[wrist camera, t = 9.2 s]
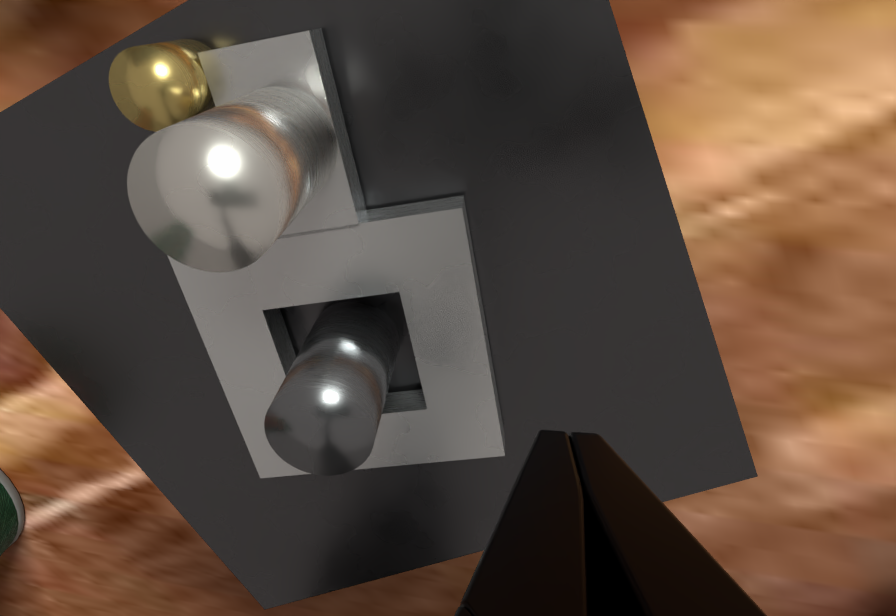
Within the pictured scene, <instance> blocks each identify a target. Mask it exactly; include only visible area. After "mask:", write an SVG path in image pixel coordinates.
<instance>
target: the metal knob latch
mask: <svg viewBox="0 0 896 616" xmlns="http://www.w3.org/2000/svg"><path fill="white" fill-rule="evenodd" d="M198 56H199V59H200V62H201V65H202V68H203V71H204V74H205V77H206V80H207V83H208V86H209V88H210V91H211V94H212V97H213V100H214V103H215V106H216V107H214V108H212V109H209V110H207V111H205V112H202V113H200V114H197V115H195V116H193V117H190V118H188V119H185V120H183V121H180V122H178V123H176V124H173V125H171V126H168V127H166V128H163V129H161V130H159V131H157V132H155V133H153V134H152V135H150V136H149V137H148V138H147V139H146V140H144V141H143V142H142V143H141V145H140V146H139V147H138V149H137V150H136V152H135V153H134V155H133V157H132V160H131V163H130V165H129V170H128V175H127V189H128V197H129V201H130V205H131V208H132V210H133V213H134V215H135V217H136V219H137V221H138V223H139V225H140V227H141V228H142V230H143V231H144V233H145V234H146V235H147V236H148V238H149V239H150V240H151V241H152V242H153V243H154V244H155V245H156V246H157V247H158V248H159V249H160V250H162V251H163V252H164V253H165V254H167V256H168V258H169V261H170V263H171V265H172V268H173V270H174V273H175V275H176V277H177V280H178V282H179V285H180V287H181V289H182V292H183V294H184V297H185V299H186V301H187V304H188V306H189V309H190V311H191V313H192V316H193V318H194V321H195V323H196V325H197V328H198V330H199V333H200V335H201V337H202V340H203V342H204V345H205V347H206V349H207V352H208V354H209V357H210V359H211V361H212V364H213V366H214V369H215V371H216V373H217V376H218V378H219V380H220V383H221V385H222V388H223V390H224V392H225V395H226V397H227V400H228V402H229V404H230V407H231V409H232V412H233V414H234V416H235V419H236V421H237V424H238V426H239V428H240V431H241V433H242V436H243V438H244V440H245V443H246V445H247V448H248V450H249V452H250V455H251V457H252V460H253V462H254V464H255V467H256V469H257V472H258V474H259V476H260V478H270V477H281V476H292V475H303V474H311V473H307V472H304V471H301V470H299V469H297V468H295V467H293V466H291V465H289V464H288V463H286V462H285V461H284V460H282V459H281V458H280V457H279V456H278V455H277V454H276V453H275V451H274V450H273V449H272V447H271V446H270V444H269V442H268V440H267V438H266V434H265V429H264V420H265V416H266V413H267V410H268V408H269V407H270V405H271V403H272V401H273V399H274V397H275V396H276V394H277V392H278V390H279V388H280V386H281V384H282V383H283V381H284V379H285V377H286V375H287V373H288V371H289V370H290V368H291V366H292V364H293V362H294V360H295V358H296V355H295V352H294V349H293V346H292V343H291V340H290V337H289V334H288V331H287V328H286V325H285V322H284V320H283V317H282V314H281V311H280V308H282V307H290V306H297V305H305V304H313V303H320V302H328V301H335V300H343V299H350V298H358V297H365V296H373V295H380V294H388V293H395V292H400V297H401V301H402V305H403V309H404V313H405V318H406V322H407V326H408V330H409V335H410V339H411V343H412V347H413V351H414V356H415V360H416V364H417V368H418V372H419V377H420V381H421V385H422V389H420V390H411V391H402V392H393V393H387V396H386V400H385V404H384V408H383V411H382V415H381V419H380V423H379V427H378V430H377V434H376V438H375V442H374V446H373V449H372V452H371V454H370V456H369V457H368V458H367V460H366V461H365V462H364V463H363V464H362V465H360V466H359V467H358V468H356V469H354V470H357V469H368V468H379V467H390V466H401V465H411V464H422V463H433V462H444V461H455V460H466V459H477V458H487V457H498V456H505V437H504V428H503V422H502V416H501V410H500V405H499V399H498V393H497V387H496V381H495V375H494V369H493V363H492V358H491V352H490V346H489V340H488V334H487V328H486V322H485V316H484V311H483V305H482V299H481V293H480V287H479V281H478V275H477V269H476V264H475V258H474V252H473V246H472V240H471V234H470V228H469V222H468V217H467V211H466V205H465V199H464V195H462V196H455V197H449V198H442V199H436V200H429V201H423V202H416V203H410V204H403V205H397V206H390V207H384V208H377V209H371V210H366V206H365V202H364V198H363V194H362V190H361V186H360V182H359V178H358V174H357V170H356V166H355V162H354V158H353V154H352V150H351V146H350V142H349V138H348V134H347V130H346V126H345V122H344V118H343V114H342V110H341V106H340V102H339V98H338V93H337V89H336V85H335V81H334V77H333V73H332V69H331V65H330V61H329V57H328V53H327V49H326V45H325V41H324V37H323V33H322V29H321V28H319V29H314V30H309V31H304V32H299V33H293V34H288V35H283V36H278V37H273V38H268V39H263V40H258V41H253V42H248V43H243V44H238V45H233V46H228V47H223V48H218V49H213V50H208V51H203V52H199V53H198Z"/></svg>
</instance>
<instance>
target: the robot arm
mask: <svg viewBox="0 0 896 616" xmlns="http://www.w3.org/2000/svg"><path fill="white" fill-rule="evenodd" d="M454 616H767V615H766V614H765V613H764V612H763V611H762V610H761V609H760V608H759V607H758V605H757V604H756V603H755V602H754V601H753V600H752V599H751V598H750V597H749V596H748V595H747V594H746V592H745V591H744V590H743V589H742V588H741V587H740V586H739V585H738V584H737V583H736V582H735V581H734V579H733V578H732V577H731V576H730V575H729V574H728V573H727V572H726V571H725V570H724V569H723V568H722V566H721V565H720V564H719V563H718V562H717V561H716V560H715V559H714V558H713V557H712V556H711V555H710V553H709V552H708V551H707V550H706V549H705V548H704V547H703V546H702V545H701V544H700V543H699V542H698V540H697V539H696V538H695V537H694V536H693V535H692V534H691V533H690V532H689V531H688V530H687V529H686V527H685V526H684V525H683V524H682V523H681V522H680V521H679V520H678V519H677V518H676V517H675V516H674V514H673V513H672V512H671V511H670V510H669V509H668V508H667V507H666V506H665V505H664V504H663V503H662V501H661V500H660V499H659V498H658V497H657V496H656V495H655V494H654V493H653V492H652V491H651V490H650V488H649V487H648V486H647V485H646V484H645V483H644V482H643V481H642V480H641V479H640V478H639V477H638V475H637V474H636V473H635V472H634V471H633V470H632V469H631V468H630V467H629V466H628V465H627V464H626V462H625V461H624V460H623V459H622V458H621V457H620V456H619V455H618V454H617V453H616V452H615V451H614V449H613V448H612V447H611V446H610V445H609V444H608V443H607V442H606V441H605V440H604V439H603V438H602V437H601V436H600V435H599V434H596V433H585V432H571V433H570V434H569V435H568V434H567V433H566V432H565V431H556V430H539V431H538V432H537V434H536V436H535V438H534V440H533V443H532V445H531V447H530V449H529V452H528V454H527V456H526V458H525V460H524V463H523V465H522V467H521V469H520V472H519V474H518V476H517V478H516V480H515V483H514V485H513V487H512V489H511V492H510V494H509V496H508V498H507V501H506V503H505V505H504V507H503V509H502V512H501V514H500V516H499V518H498V521H497V523H496V525H495V527H494V530H493V532H492V534H491V536H490V538H489V541H488V543H487V545H486V547H485V550H484V552H483V554H482V556H481V559H480V561H479V563H478V565H477V567H476V570H475V572H474V574H473V576H472V579H471V581H470V583H469V585H468V588H467V590H466V592H465V594H464V596H463V599H462V601H461V605H460V607H458V609H457V611H456V613H455V615H454Z"/></svg>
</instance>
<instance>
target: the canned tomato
mask: <svg viewBox="0 0 896 616" xmlns="http://www.w3.org/2000/svg"><path fill="white" fill-rule="evenodd" d="M24 520H25V516H24V508H23V504H22V501H21V499H20V496H19V494H18V492H17V490H16V488H15V487H14V485H13V484H12V482H11V481H10V479H9V478H8V477H7V476H6V475H5V474H4V473H3V471H2V470H1V469H0V556H1V555H2V554H3V552H4V551H5V550H6V549H7V548H8V547H10V546H11V545H12V544H13V543H14V542H15V541H16V540H17V539H18V537H19V535H20V533H21V531H22V530H23V526H24Z"/></svg>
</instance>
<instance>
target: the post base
mask: <svg viewBox="0 0 896 616" xmlns="http://www.w3.org/2000/svg"><path fill="white" fill-rule="evenodd" d="M319 28H321V29H322V33H323V37H324V41H325V45H326V49H327V53H328V57H329V61H330V65H331V69H332V73H333V77H334V81H335V85H336V89H337V93H338V98H339V102H340V106H341V110H342V114H343V118H344V122H345V126H346V130H347V134H348V138H349V142H350V146H351V150H352V154H353V158H354V162H355V166H356V170H357V174H358V178H359V182H360V186H361V190H362V194H363V198H364V202H365V206H366V210H371V209H377V208H384V207H390V206H397V205H403V204H410V203H416V202H423V201H429V200H436V199H442V198H449V197H455V196H462V195H464V199H465V205H466V211H467V217H468V222H469V228H470V234H471V240H472V246H473V252H474V258H475V264H476V269H477V275H478V281H479V287H480V293H481V299H482V305H483V311H484V316H485V322H486V328H487V334H488V340H489V346H490V352H491V358H492V363H493V369H494V375H495V381H496V387H497V393H498V399H499V405H500V410H501V416H502V422H503V428H504V437H505V456H498V457H487V458H477V459H466V460H455V461H444V462H433V463H422V464H411V465H401V466H390V467H379V468H368V469H357V470H354V469H356V468H358V467H359V466H360V465H362V464H363V463H364V462H365V461H366V460H367V458H368V457H369V456H370V454H371V452H372V449H373V446H374V442H375V438H376V434H377V430H378V427H379V423H380V419H381V415H382V411H383V408H384V404H385V400H386V396H387V393H393V392H402V391H411V390H420V389H422V385H421V381H420V377H419V372H418V368H417V364H416V360H415V356H414V351H413V347H412V343H411V339H410V335H409V330H408V326H407V322H406V318H405V313H404V309H403V305H402V301H401V297H400V292H395V293H388V294H380V295H373V296H365V297H358V298H350V299H343V300H335V301H328V302H320V303H313V304H305V305H297V306H290V307H282V308H280V311H281V314H282V317H283V320H284V322H285V325H286V328H287V331H288V334H289V337H290V340H291V343H292V346H293V349H294V352H295V355H296V358H295V360H294V362H293V364H292V366H291V368H290V370H289V371H288V373H287V375H286V377H285V379H284V381H283V383H282V384H281V386H280V388H279V390H278V392H277V394H276V396H275V397H274V399H273V401H272V403H271V405H270V407H269V408H268V410H267V413H266V416H265V420H264V429H265V434H266V438H267V440H268V442H269V444H270V446H271V447H272V449H273V450H274V451H275V453H276V454H277V455H278V456H279V457H280V458H281V459H282V460H284V461H285V462H286V463H288V464H289V465H291V466H293V467H295V468H297V469H299V470H301V471H304V472H307V473H311V474H303V475H292V476H281V477H270V478H260V476H259V474H258V472H257V469H256V467H255V464H254V462H253V460H252V457H251V455H250V452H249V450H248V448H247V445H246V443H245V440H244V438H243V436H242V433H241V431H240V428H239V426H238V424H237V421H236V419H235V416H234V414H233V412H232V409H231V407H230V404H229V402H228V400H227V397H226V395H225V392H224V390H223V388H222V385H221V383H220V380H219V378H218V376H217V373H216V371H215V369H214V366H213V364H212V361H211V359H210V357H209V354H208V352H207V349H206V347H205V345H204V342H203V340H202V337H201V335H200V333H199V330H198V328H197V325H196V323H195V321H194V318H193V316H192V313H191V311H190V309H189V306H188V304H187V301H186V299H185V297H184V294H183V292H182V289H181V287H180V285H179V282H178V280H177V277H176V275H175V273H174V270H173V268H172V265H171V263H170V261H169V258H168V256H167V254H165V253H164V252H163V251H162V250H160V249H159V248H158V247H157V246H156V245H155V244H154V243H153V242H152V241H151V240H150V239H149V238H148V236H147V235H146V234H145V233H144V231H143V230H142V228H141V227H140V225H139V223H138V221H137V219H136V217H135V215H134V213H133V210H132V208H131V205H130V201H129V197H128V189H127V175H128V170H129V165H130V163H131V160H132V157H133V155H134V153H135V152H136V150H137V149H138V147H139V146H140V145H141V143H142V142H143V141H144V140H146V139H147V138H148V137H149V136H150V135H152V134H153V133H155V132H157V131H159V130H161V129H163V128H166V127H168V126H171V125H173V124H176V123H178V122H180V121H183V120H185V119H188V118H190V117H193V116H195V115H197V114H200V113H202V112H205V111H207V110H209V109H212V108H214V107H216V106H215V103H214V100H213V97H212V94H211V91H210V88H209V86H208V83H207V80H206V77H205V74H204V71H203V68H202V65H201V62H200V59H199V56H198V53H199V52H203V51H208V50H213V49H218V48H223V47H228V46H233V45H238V44H243V43H248V42H253V41H258V40H263V39H268V38H273V37H278V36H283V35H288V34H293V33H299V32H304V31H309V30H314V29H319ZM0 308H1V309H2V310H3V312H4V313H5V314H6V315H7V316H8V317H9V318H10V320H11V321H12V322H13V323H14V324H15V325H16V326H17V328H18V329H19V330H20V331H21V332H22V333H23V334H24V336H25V337H26V338H27V339H28V340H29V341H30V342H31V343H32V345H33V346H34V347H35V348H36V349H37V350H38V351H39V353H40V354H41V355H42V356H43V357H44V358H45V359H46V361H47V362H48V363H49V364H50V365H51V366H52V367H53V369H54V370H55V371H56V372H57V373H58V374H59V375H60V377H61V378H62V379H63V380H64V381H65V382H66V383H67V385H68V386H69V387H70V388H71V389H72V390H73V391H74V393H75V394H76V395H77V396H78V397H79V398H80V399H81V401H82V402H83V403H84V404H85V405H86V406H87V407H88V408H89V410H90V411H91V412H92V413H93V414H94V415H95V416H96V418H97V419H98V420H99V421H100V422H101V423H102V424H103V426H104V427H105V428H106V429H107V430H108V431H109V432H110V434H111V435H112V436H113V437H114V438H115V439H116V440H117V442H118V443H119V444H120V445H121V446H122V447H123V448H124V450H125V451H126V452H127V453H128V454H129V455H130V456H131V458H132V459H133V460H134V461H135V462H136V463H137V464H138V466H139V467H140V468H141V469H142V470H143V471H144V472H145V473H146V475H147V476H148V477H149V478H150V479H151V480H152V481H153V483H154V484H155V485H156V486H157V487H158V488H159V489H160V491H161V492H162V493H163V494H164V495H165V496H166V497H167V499H168V500H169V501H170V502H171V503H172V504H173V505H174V507H175V508H176V509H177V510H178V511H179V512H180V513H181V515H182V516H183V517H184V518H185V519H186V520H187V521H188V523H189V524H190V525H191V526H192V527H193V528H194V529H195V531H196V532H197V533H198V534H199V535H200V536H201V537H202V539H203V540H204V541H205V542H206V543H207V544H208V545H209V546H210V548H211V549H212V550H213V551H214V552H215V553H216V554H217V556H218V557H219V558H220V559H221V560H222V561H223V562H224V564H225V565H226V566H227V567H228V568H229V569H230V570H231V572H232V573H233V574H234V575H235V576H236V577H237V578H238V580H239V581H240V582H241V583H242V584H243V585H244V586H245V588H246V589H247V590H248V591H249V592H250V593H251V594H252V596H253V597H254V598H255V599H256V600H257V601H258V602H259V604H260V605H261V606H262V607H263V608H264V609H268V608H272V607H276V606H279V605H283V604H287V603H291V602H294V601H298V600H302V599H305V598H309V597H313V596H317V595H320V594H324V593H328V592H331V591H335V590H339V589H342V588H346V587H350V586H354V585H357V584H361V583H365V582H368V581H372V580H376V579H379V578H383V577H387V576H391V575H394V574H398V573H402V572H405V571H409V570H413V569H416V568H420V567H424V566H428V565H431V564H435V563H439V562H442V561H446V560H450V559H453V558H457V557H461V556H465V555H468V554H472V553H476V552H479V551H483V550H485V547H486V545H487V543H488V541H489V538H490V536H491V534H492V532H493V530H494V527H495V525H496V523H497V521H498V518H499V516H500V514H501V512H502V509H503V507H504V505H505V503H506V501H507V498H508V496H509V494H510V492H511V489H512V487H513V485H514V483H515V480H516V478H517V476H518V474H519V472H520V469H521V467H522V465H523V463H524V460H525V458H526V456H527V454H528V452H529V449H530V447H531V445H532V443H533V440H534V438H535V436H536V434H537V432H538V431H539V430H556V431H565V432H566V433H567V434H568V435H569V434H570V433H571V432H585V433H596V434H599V435H600V436H601V437H602V438H603V439H604V440H605V441H606V442H607V443H608V444H609V445H610V446H611V447H612V448H613V449H614V451H615V452H616V453H617V454H618V455H619V456H620V457H621V458H622V459H623V460H624V461H625V462H626V464H627V465H628V466H629V467H630V468H631V469H632V470H633V471H634V472H635V473H636V474H637V475H638V477H639V478H640V479H641V480H642V481H643V482H644V483H645V484H646V485H647V486H648V487H649V488H650V490H651V491H652V492H653V493H654V494H655V495H656V496H657V497H658V498H659V499H660V500H661V501H662V502H664V501H668V500H672V499H676V498H679V497H683V496H687V495H690V494H694V493H698V492H701V491H705V490H709V489H713V488H716V487H720V486H724V485H727V484H731V483H735V482H739V481H742V480H746V479H750V478H753V477H757V473H756V469H755V466H754V463H753V460H752V457H751V453H750V450H749V447H748V444H747V441H746V437H745V434H744V431H743V428H742V425H741V421H740V418H739V415H738V412H737V409H736V405H735V402H734V399H733V396H732V393H731V389H730V386H729V383H728V380H727V377H726V373H725V370H724V367H723V364H722V361H721V357H720V354H719V351H718V348H717V345H716V341H715V338H714V335H713V332H712V329H711V325H710V322H709V319H708V316H707V313H706V309H705V306H704V303H703V300H702V297H701V293H700V290H699V287H698V284H697V281H696V278H695V274H694V271H693V268H692V265H691V262H690V258H689V255H688V252H687V249H686V246H685V242H684V239H683V236H682V233H681V230H680V226H679V223H678V220H677V217H676V214H675V210H674V207H673V204H672V201H671V198H670V194H669V191H668V188H667V185H666V182H665V178H664V175H663V172H662V169H661V166H660V162H659V159H658V156H657V153H656V150H655V146H654V143H653V140H652V137H651V134H650V130H649V127H648V124H647V121H646V118H645V114H644V111H643V108H642V105H641V102H640V98H639V95H638V92H637V89H636V86H635V82H634V79H633V76H632V73H631V70H630V66H629V63H628V60H627V57H626V54H625V50H624V47H623V44H622V41H621V38H620V34H619V31H618V28H617V25H616V22H615V18H614V15H613V12H612V9H611V6H610V2H609V0H188V1H186V2H185V3H183V4H181V5H180V6H178V7H176V8H175V9H173V10H171V11H170V12H168V13H166V14H165V15H163V16H161V17H160V18H158V19H156V20H154V21H153V22H151V23H149V24H148V25H146V26H144V27H143V28H141V29H139V30H138V31H136V32H134V33H133V34H131V35H129V36H128V37H126V38H124V39H123V40H121V41H119V42H118V43H116V44H114V45H113V46H111V47H109V48H108V49H106V50H104V51H102V52H101V53H99V54H97V55H96V56H94V57H92V58H91V59H89V60H87V61H86V62H84V63H82V64H81V65H79V66H77V67H76V68H74V69H72V70H71V71H69V72H67V73H66V74H64V75H62V76H61V77H59V78H57V79H56V80H54V81H52V82H51V83H49V84H47V85H45V86H44V87H42V88H40V89H39V90H37V91H35V92H34V93H32V94H30V95H29V96H27V97H25V98H24V99H22V100H20V101H19V102H17V103H15V104H14V105H12V106H10V107H9V108H7V109H5V110H4V111H2V112H0Z"/></svg>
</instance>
